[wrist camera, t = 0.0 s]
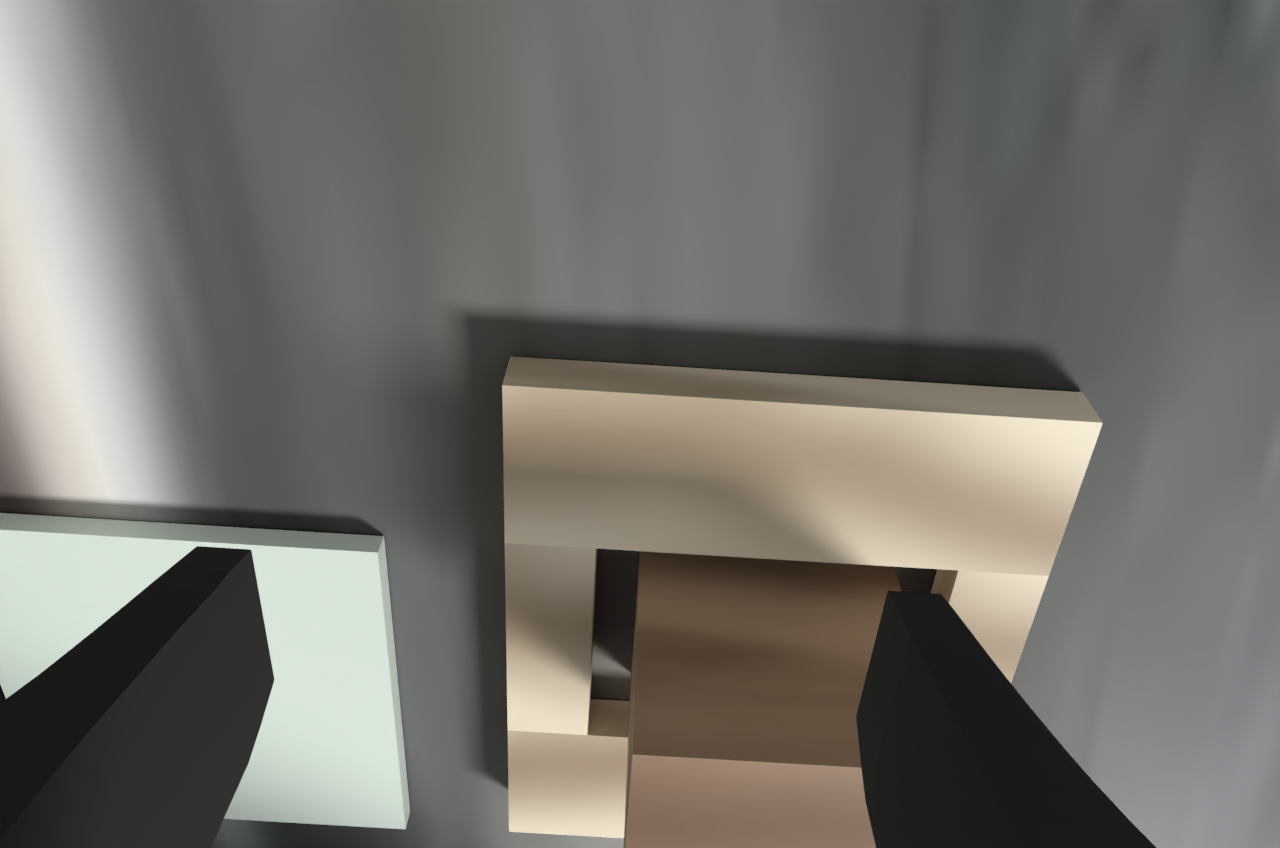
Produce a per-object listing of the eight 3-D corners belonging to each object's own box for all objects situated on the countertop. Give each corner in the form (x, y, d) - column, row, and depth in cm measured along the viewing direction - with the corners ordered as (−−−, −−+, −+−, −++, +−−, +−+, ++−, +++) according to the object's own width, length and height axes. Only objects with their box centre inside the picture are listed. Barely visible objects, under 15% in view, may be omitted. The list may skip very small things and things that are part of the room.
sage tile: (410, 810, 29) (405, 829, 29) (59, 790, 29) (48, 808, 29) (384, 535, 24) (378, 552, 24) (-46, 509, 24) (-61, 525, 23)
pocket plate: (939, 819, 29) (949, 857, 28) (514, 794, 29) (509, 831, 28) (1082, 392, 22) (1102, 422, 20) (509, 356, 21) (501, 385, 20)
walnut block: (864, 684, 26) (911, 900, 21) (631, 671, 26) (622, 884, 21) (893, 564, 24) (953, 772, 19) (640, 549, 24) (632, 754, 19)
